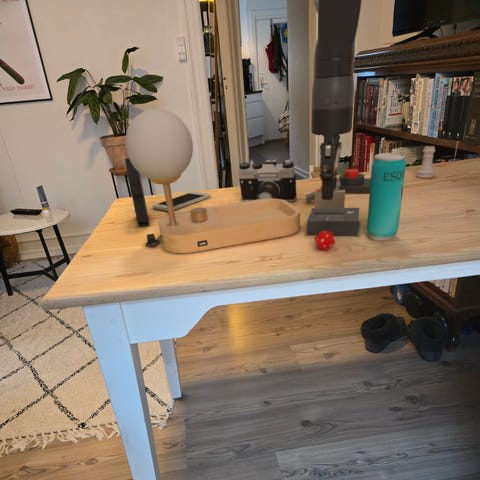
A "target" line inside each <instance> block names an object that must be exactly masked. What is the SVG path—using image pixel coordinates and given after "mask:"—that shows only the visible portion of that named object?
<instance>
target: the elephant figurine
mask: <svg viewBox="0 0 480 480" xmlns="http://www.w3.org/2000/svg"><path fill="white" fill-rule="evenodd" d="M340 186H341V185H340V181H339V177H336V188H335V189H334V190H338V189H339V187H340ZM319 189H321V190H322V185H321V186H320V187H319ZM304 196H305V200H306V202H307V203H311V202H313V201H315V191H312V192H310V193H307V194H304Z"/></svg>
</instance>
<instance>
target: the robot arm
mask: <svg viewBox="0 0 480 480" xmlns="http://www.w3.org/2000/svg"><path fill="white" fill-rule="evenodd" d="M312 3H313V7H314V10H315V12H316V13H317V39H316V43H315V46H314V50H313V51H314V52H313V80H312V82H313V83H312V90H311V129H310V130H311V133H312V134H313V135H316V136H322V137H323V142H321V143H320V144H319V149H318V151H319V170H320V171H319V173H320V174H319V178H320V180H321V186H322V199H323V200H332V199H333V190H334V189H335V188H336V178H338V176H337V174H338V168H339V163H340V162H341V152H342V148H343V147H342V146H343V142H342V141H340V139H341V135H346V134H348V133H350V132H351V131H352V130H353V118H354V117H353V114H354V102H355V101H354V99H355V84H354V82H355V80H354V77H355V76H354V75H355V61H356V60H355V57H356V38H357V34H358V28H359V22H360V15H361V11H362V10H361V8H362V0H312Z"/></svg>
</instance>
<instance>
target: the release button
mask: <svg viewBox="0 0 480 480" xmlns="http://www.w3.org/2000/svg"><path fill="white" fill-rule="evenodd" d="M359 173H360V169H357V168H349V169H345V171H344V174H345V177H348V178H354V177H359Z"/></svg>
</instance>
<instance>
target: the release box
mask: <svg viewBox="0 0 480 480" xmlns="http://www.w3.org/2000/svg"><path fill="white" fill-rule="evenodd" d="M338 179H339V181H340V185H341V186H340V187H339V188H338V190H345V194H370V183H371V177H367V178H365V174H363V173H361V172H359V177H354V178H348V177H345V173H342V174H340V175H339V177H338Z"/></svg>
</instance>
